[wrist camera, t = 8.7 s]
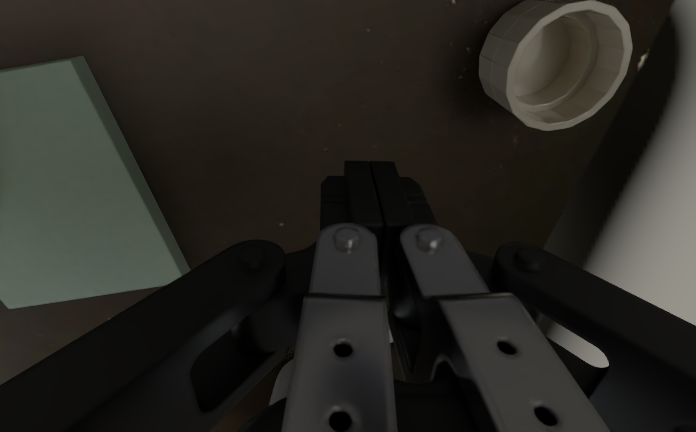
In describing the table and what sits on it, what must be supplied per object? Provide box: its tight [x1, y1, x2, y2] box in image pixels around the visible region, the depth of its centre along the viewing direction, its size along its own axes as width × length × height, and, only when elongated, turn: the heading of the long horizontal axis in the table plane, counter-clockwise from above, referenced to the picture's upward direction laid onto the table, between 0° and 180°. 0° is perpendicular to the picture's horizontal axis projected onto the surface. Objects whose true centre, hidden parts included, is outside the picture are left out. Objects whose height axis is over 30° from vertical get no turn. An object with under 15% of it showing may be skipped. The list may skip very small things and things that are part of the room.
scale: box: [0, 56, 191, 309], centre depth 24 cm, size 16×15×3 cm
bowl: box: [479, 0, 633, 131], centre depth 20 cm, size 6×6×4 cm
